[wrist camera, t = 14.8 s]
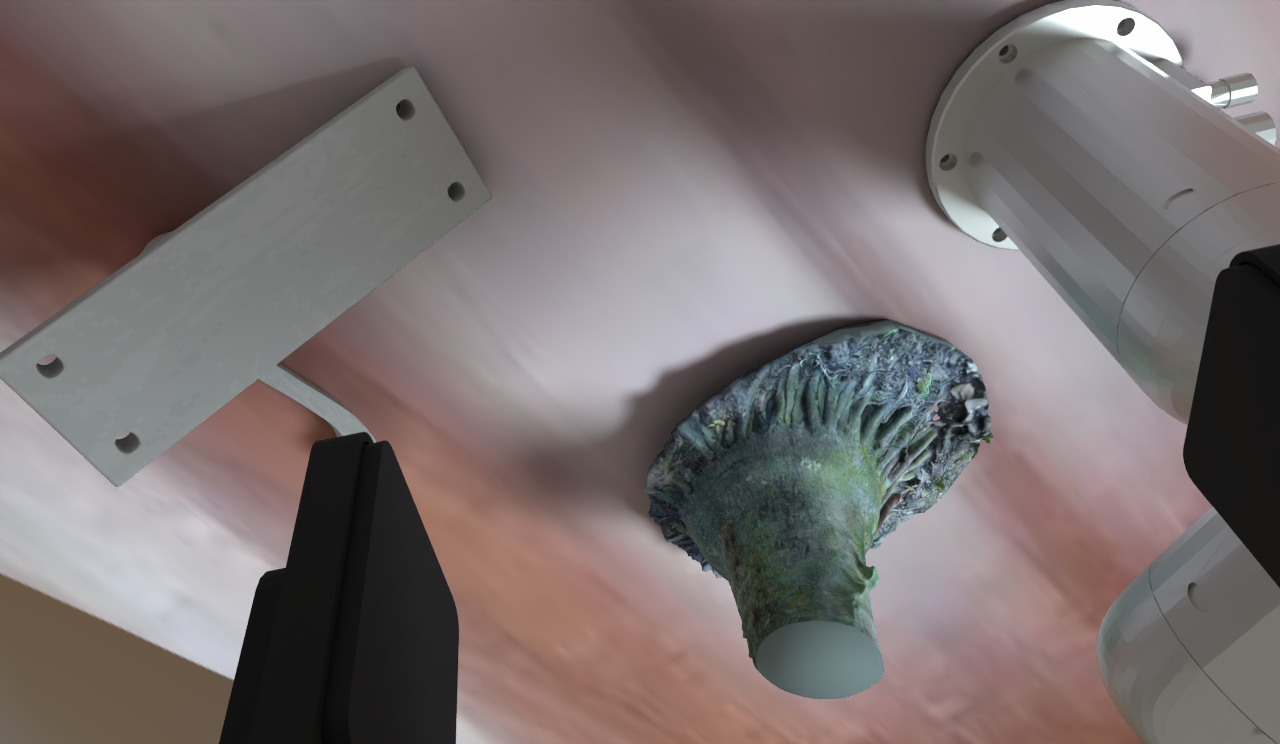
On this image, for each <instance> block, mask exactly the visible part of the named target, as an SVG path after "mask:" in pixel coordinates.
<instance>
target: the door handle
mask: <svg viewBox="0 0 1280 744" xmlns="http://www.w3.org/2000/svg"><path fill="white" fill-rule="evenodd" d="M398 103H399V104H400V110H399V112H398V113H397V112H396V106H397V104H398ZM449 186H450V188H449V190H448V187H449ZM447 190H448V191H447ZM491 197H492V195H491V193H490V192H489V190H488V188H487V187H486V185H485V183H484V182H483V180H482V178H481V177H480V175H479V173H478V172H477V170H476V168H475V167H474V165H473V163H472V162H471V160H470V158H469V157H468V155H467V153H466V152H465V150H464V148H463V147H462V145H461V143H460V142H459V140H458V138H457V137H456V135H455V133H454V132H453V130H452V128H451V127H450V125H449V123H448V122H447V120H446V118H445V116H444V115H443V113H442V111H441V110H440V108H439V106H438V105H437V103H436V101H435V100H434V98H433V96H432V95H431V93H430V91H429V90H428V88H427V86H426V85H425V83H424V81H423V80H422V78H421V76H420V75H419V73H418V71H417V70H416V68H415V67H414V66H408V67H406V68H404V69H402V70H400V71H399V72H397V73H396V74H395V75H393V76H392V77H390V78H389V79H387V80H386V81H385V82H383V83H382V84H380V85H379V86H378V87H376V88H375V89H373V90H372V91H370V92H369V93H368V94H366V95H365V96H363V97H362V98H361V99H359V100H358V101H356V102H355V103H353V104H352V105H351V106H349V107H348V108H346V109H345V110H344V111H342V112H341V113H339V114H338V115H337V116H335V117H334V118H332V119H331V120H329V121H328V122H327V123H325V124H324V125H322V126H321V127H320V128H318V129H317V130H315V131H314V132H312V133H311V134H310V135H308V136H307V137H305V138H304V139H303V140H301V141H300V142H298V143H297V144H295V145H294V146H293V147H291V148H290V149H288V150H287V151H286V152H284V153H283V154H281V155H280V156H278V157H277V158H276V159H274V160H273V161H271V162H270V163H269V164H267V165H266V166H264V167H263V168H261V169H260V170H259V171H257V172H256V173H254V174H253V175H252V176H250V177H249V178H247V179H246V180H244V181H243V182H242V183H240V184H239V185H237V186H236V187H235V188H233V189H232V190H230V191H229V192H228V193H226V194H225V195H223V196H222V197H220V198H219V199H218V200H216V201H215V202H213V203H212V204H211V205H209V206H208V207H206V208H205V209H203V210H202V211H201V212H199V213H198V214H196V215H195V216H194V217H192V218H191V219H189V220H188V221H186V222H185V223H184V224H182V225H181V226H179V227H178V228H177V229H175V230H174V231H172V232H167V233H163V234H161V235H159V236H157V237H155V238H154V239H152V240H151V241H150V242H149V243H148V244H147V245H146V246H145V248H144V249H143V251H142V253H141V254H140V255H138V256H137V257H135V258H134V259H133V260H131V261H130V262H128V263H127V264H126V265H124V266H123V267H121V268H120V269H119V270H117V271H116V272H114V273H113V274H111V275H110V276H109V277H107V278H106V279H104V280H103V281H102V282H100V283H99V284H97V285H96V286H94V287H93V288H92V289H90V290H89V291H87V292H86V293H85V294H83V295H82V296H80V297H79V298H77V299H76V300H75V301H73V302H72V303H70V304H69V305H68V306H66V307H65V308H63V309H62V310H60V311H59V312H58V313H56V314H55V315H53V316H52V317H51V318H49V319H48V320H46V321H45V322H43V323H42V324H41V325H39V326H38V327H36V328H35V329H34V330H32V331H31V332H29V333H28V334H26V335H25V336H24V337H22V338H21V339H19V340H18V341H17V342H15V343H14V344H12V345H11V346H10V347H8V348H7V349H5V350H4V351H2V352H1V353H0V378H1V379H2V380H3V381H4V382H5V383H6V384H7V385H8V386H9V387H10V388H11V389H13V390H14V391H15V392H16V393H17V394H18V395H19V396H20V397H21V398H22V399H23V400H24V401H25V402H26V403H27V404H28V405H30V406H31V407H32V408H33V409H34V410H35V411H36V412H37V413H38V414H39V415H40V416H41V417H42V418H43V419H44V420H45V421H47V422H48V423H49V424H50V425H51V426H52V427H53V428H54V429H55V430H56V431H57V432H58V433H59V434H60V435H61V436H62V437H63V438H65V439H66V440H67V441H68V442H69V443H70V444H71V445H72V446H73V447H74V448H75V449H76V450H77V451H78V452H79V453H80V454H82V455H83V456H84V457H85V458H86V459H87V460H88V461H89V462H90V463H91V464H92V465H93V466H94V467H95V468H96V469H97V470H98V471H100V472H101V473H102V474H103V475H104V476H105V477H106V478H107V479H108V480H109V481H110V482H111V483H112V484H113V485H114V486H116V487H119V486H121V485H122V484H123V483H125V482H126V481H127V480H128V479H130V478H131V477H132V476H134V475H135V474H136V473H137V472H139V471H140V470H141V469H143V468H144V467H145V466H146V465H148V464H149V463H150V462H152V461H153V460H154V459H155V458H157V457H158V456H159V455H161V454H162V453H163V452H165V451H166V450H167V449H168V448H170V447H171V446H172V445H174V444H175V443H176V442H177V441H179V440H180V439H181V438H183V437H184V436H185V435H186V434H188V433H189V432H190V431H192V430H193V429H194V428H195V427H197V426H198V425H199V424H201V423H202V422H203V421H204V420H206V419H207V418H208V417H210V416H211V415H212V414H213V413H215V412H216V411H217V410H219V409H220V408H221V407H222V406H224V405H225V404H226V403H228V402H229V401H230V400H232V399H233V398H234V397H235V396H237V395H238V394H239V393H241V392H242V391H243V390H244V389H246V388H247V387H248V386H250V385H251V384H252V383H253V382H255V381H256V380H257V379H259V380H261V381H262V382H264V383H266V384H268V385H269V386H271V387H273V388H275V389H276V390H278V391H280V392H282V393H283V394H285V395H287V396H288V397H290V398H292V399H293V400H295V401H297V402H298V403H300V404H302V405H303V406H305V407H306V408H308V409H309V410H311V411H312V412H314V413H316V414H317V415H319V416H320V417H322V418H323V419H325V420H326V421H327V422H328V423H329V424H330V425H331V427H332V428H333V429H334V431H335V433H336V435H337V437H340V436H345V435H350V434H355V433H359V432H367V433H368V434H369V435H370V436H371V438H372V440H373V442H374V443H375V442H376V440H375V439H374V437H373V436H372V434H371V433H370V432H369V431H368V429H367V428H366V427H365V426H364V425H363V424H362V423H361V422H360V421H359V420H358V419H357V418H356V417H355V416H354V415H353V414H352V413H351V412H350V411H349V410H348V409H347V408H346V407H345V406H343V405H342V404H341V403H340V402H339V401H337V400H336V399H335V398H333V397H332V396H330V395H329V394H327V393H326V392H324V391H323V390H321V389H320V388H318V387H317V386H315V385H314V384H312V383H310V382H309V381H307V380H305V379H304V378H302V377H301V376H299V375H297V374H296V373H294V372H292V371H291V370H289V369H288V368H286V367H285V366H283V365H281V364H280V363H279V362H280V361H282V360H283V359H284V358H286V357H287V356H288V355H290V354H291V353H292V352H293V351H295V350H296V349H297V348H299V347H300V346H301V345H302V344H304V343H305V342H306V341H308V340H309V339H310V338H311V337H313V336H314V335H315V334H317V333H318V332H319V331H320V330H322V329H323V328H324V327H326V326H327V325H328V324H329V323H331V322H332V321H333V320H335V319H336V318H337V317H338V316H340V315H341V314H342V313H344V312H345V311H346V310H348V309H349V308H350V307H351V306H353V305H354V304H355V303H357V302H358V301H359V300H360V299H362V298H363V297H364V296H366V295H367V294H368V293H369V292H371V291H372V290H373V289H375V288H376V287H377V286H378V285H380V284H381V283H382V282H384V281H385V280H386V279H387V278H389V277H390V276H391V275H393V274H394V273H395V272H396V271H398V270H399V269H400V268H402V267H403V266H404V265H405V264H407V263H408V262H409V261H411V260H412V259H413V258H415V257H416V256H417V255H418V254H420V253H421V252H422V251H424V250H425V249H426V248H427V247H429V246H430V245H431V244H433V243H434V242H435V241H436V240H438V239H439V238H440V237H442V236H443V235H444V234H445V233H447V232H448V231H449V230H451V229H452V228H453V227H454V226H456V225H457V224H458V223H460V222H461V221H462V220H463V219H465V218H466V217H467V216H469V215H470V214H471V213H473V212H474V211H475V210H476V209H478V208H479V207H480V206H482V205H483V204H484V203H485V202H487V201H488V200H489V199H490V198H491ZM47 355H54V356H56V357H57V358H56V359H55V360H54V361H53V362H52V363H50V364H48V365H40V364H38V363H37V362H38V361H39V360H40V359H41V358H43V357H44V356H47ZM125 432H131V433H130V434H129V435H128V436H126V437H125V438H123V439H117V438H118V437H119V436H120V435H122V434H124V433H125Z"/></svg>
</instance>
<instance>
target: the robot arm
mask: <svg viewBox="0 0 1280 744" xmlns="http://www.w3.org/2000/svg"><path fill="white" fill-rule="evenodd" d="M1003 47H1004V48H1003ZM1002 48H1003V50H1002V51H1000V50H1001V49H1002ZM1257 88H1258V85H1257V82H1256V79H1255V78H1254V77H1253V75H1252V74H1250V73H1243V74H1239V75H1235V76H1230V77H1226V78H1222V79H1219V80H1218V81H1215V82H1211V83H1204V82H1203V81H1201V80H1199V79H1198V78H1196V77H1195V76H1193V75H1192V74H1190V73H1188V72H1187V71H1185V68H1184V64H1183V59H1182V56H1181V54H1180V52H1179V50H1178V48H1177V46H1176V44H1175V42H1174V40H1173V38H1172V37H1171V36H1170V35H1169V34H1168V33H1167V32H1166V30H1165V29H1164V28H1163V27H1162V26H1161V25H1160V24H1159V23H1158V22H1157V21H1155V20H1154V19H1152V18H1151V17H1149V16H1148V15H1146V14H1145V13H1143V12H1142V11H1140V10H1138V9H1135V8H1133V7H1131V6H1129V5H1127V4H1125V3H1122V2H1119V1H1114V0H1064V1H1059V2H1055V3H1051V4H1047V5H1044V6H1042V7H1040V8H1037V9H1035V10H1032V11H1030V12H1028V13H1025V14H1023V15H1021V16H1019V17H1018V18H1016V19H1014V20H1013V21H1011V22H1010V23H1008V24H1006V25H1005V26H1003V27H1002V28H1000V29H998V30H997V31H996V32H995V33H993V34H992V35H991V36H990V37H989V38H988V39H986V40H985V41H984V42H983V43H982V44H981V45H979V46H978V47H977V48H976V49H975V50H974V51H973V52H972V53H971V55H970V56H969V57H968V58H967V59H966V60H965V62H964V63H963V64H962V65H961V66H960V67H959V68H958V70H957V71H956V72H955V74H954V76H953V77H952V79H951V80H950V82H949V84H948V85H947V87H946V88H945V90H944V91H943V93H942V95H941V98H940V100H939V102H938V105H937V107H936V109H935V112H934V114H933V116H932V119H931V124H930V128H929V132H928V136H927V141H926V162H925V164H926V170H927V176H928V181H929V186H930V188H931V190H932V193H933V195H934V197H935V200H936V202H937V204H938V205H939V206H940V208H941V209H942V210H943V212H944V213H945V214H946V216H947V217H948V218H949V220H950V221H951V222H952V223H953V224H954V225H955V226H956V227H957V228H958V229H959V230H960V231H961V232H963V233H964V234H966V235H968V236H969V237H971V238H972V239H974V240H976V241H977V242H980V243H983V244H985V245H988V246H991V247H994V248H1000V249H1009V250H1020V251H1021V252H1022V253H1023V254H1024V255H1025V257H1026V258H1027V259H1028V260H1029V261H1030V262H1031V263H1032V265H1033V266H1034V267H1035V268H1036V269H1037V270H1038V271H1039V273H1040V274H1041V275H1042V276H1043V277H1044V278H1045V280H1046V281H1047V282H1048V283H1049V284H1050V285H1051V286H1052V288H1053V289H1054V290H1055V291H1056V292H1057V293H1058V294H1059V296H1060V297H1061V298H1062V299H1063V300H1064V301H1065V302H1066V304H1067V305H1068V306H1069V307H1070V308H1071V309H1072V310H1073V312H1074V313H1075V314H1076V315H1077V316H1078V317H1079V319H1080V320H1081V321H1082V322H1083V323H1084V324H1085V325H1086V327H1087V328H1088V329H1089V330H1090V331H1091V332H1092V333H1093V335H1094V336H1095V337H1096V338H1097V339H1098V340H1099V341H1100V343H1101V344H1102V345H1103V346H1104V347H1105V348H1106V349H1107V351H1108V352H1109V353H1110V354H1111V355H1112V356H1113V357H1114V359H1115V360H1116V361H1117V362H1118V363H1119V364H1120V366H1121V367H1122V368H1123V369H1124V370H1125V371H1126V372H1127V374H1128V375H1129V376H1130V377H1131V378H1132V379H1133V381H1134V382H1135V383H1136V384H1137V385H1138V386H1139V387H1140V389H1141V390H1142V391H1143V392H1144V393H1145V394H1146V395H1147V396H1148V397H1149V398H1150V399H1151V400H1152V401H1153V402H1154V403H1155V404H1156V405H1157V406H1158V407H1159V408H1161V409H1162V410H1163V411H1165V412H1166V413H1168V414H1169V415H1171V416H1172V417H1174V418H1175V419H1177V420H1178V421H1180V422H1182V423H1184V424H1187V425H1188V427H1187V432H1186V438H1185V443H1184V448H1183V458H1184V464H1185V467H1186V470H1187V472H1188V475H1189V477H1190V478H1191V480H1192V481H1193V483H1194V484H1195V485H1196V486H1197V488H1198V489H1199V490H1200V491H1201V493H1202V494H1203V495H1204V496H1205V497H1206V499H1207V500H1208V501H1209V502H1210V504H1211V505H1212V507H1211V508H1210V509H1209V510H1208V511H1207V512H1206V513H1205V514H1204V515H1203V516H1201V517H1200V518H1199V519H1198V520H1197V521H1196V522H1195V523H1194V524H1193V525H1192V526H1191V527H1190V528H1189V529H1187V530H1186V531H1185V532H1184V533H1183V534H1182V535H1181V536H1180V537H1179V538H1178V539H1177V540H1176V541H1175V542H1173V543H1172V544H1171V545H1170V546H1169V547H1168V548H1167V549H1166V550H1165V551H1164V552H1163V553H1162V554H1161V555H1159V556H1158V557H1157V558H1156V559H1155V560H1154V561H1153V562H1152V563H1151V564H1150V565H1149V566H1147V567H1146V568H1145V569H1144V570H1143V571H1142V572H1141V573H1140V574H1139V575H1138V576H1137V577H1136V578H1135V579H1134V580H1133V581H1132V582H1131V583H1130V584H1129V585H1128V586H1127V587H1126V588H1125V589H1124V590H1123V592H1122V593H1121V594H1120V595H1119V596H1118V597H1117V598H1116V600H1115V601H1114V602H1113V604H1112V605H1111V607H1110V608H1109V610H1108V611H1107V613H1106V615H1105V617H1104V618H1103V620H1102V623H1101V626H1100V629H1099V632H1098V637H1097V647H1096V651H1097V660H1098V666H1099V670H1100V674H1101V676H1102V679H1103V682H1104V685H1105V687H1106V689H1107V691H1108V693H1109V695H1110V697H1111V699H1112V701H1113V703H1114V704H1115V706H1116V708H1117V709H1118V711H1119V712H1120V714H1121V715H1122V717H1123V718H1124V720H1125V721H1126V723H1127V724H1128V726H1129V727H1130V728H1131V729H1132V731H1133V732H1134V733H1135V734H1136V736H1137V737H1138V738H1139V739H1140V741H1141V742H1142V743H1143V744H1280V149H1278V148H1277V147H1275V146H1274V143H1275V140H1276V127H1275V124H1274V122H1273V119H1272V118H1271V117H1270V116H1269V115H1268V114H1267V113H1265V112H1256V113H1252V114H1248V115H1244V116H1239V117H1235V118H1232V117H1230V116H1229V115H1227V114H1226V113H1224V112H1223V111H1221V110H1220V109H1219V108H1224V109H1225V108H1230V107H1234V106H1238V105H1243V104H1247V103H1251V102H1252V101H1254V100H1255V98H1256V96H1257ZM943 156H944V157H943ZM458 645H459V624H458V616H457V610H456V606H455V602H454V599H453V596H452V594H451V592H450V589H449V587H448V584H447V582H446V579H445V577H444V574H443V572H442V569H441V567H440V564H439V562H438V560H437V557H436V555H435V552H434V550H433V547H432V545H431V542H430V540H429V537H428V535H427V532H426V530H425V528H424V525H423V523H422V520H421V518H420V515H419V513H418V510H417V508H416V505H415V503H414V500H413V498H412V496H411V493H410V491H409V488H408V486H407V483H406V481H405V478H404V476H403V473H402V471H401V468H400V466H399V463H398V461H397V459H396V456H395V454H394V451H393V449H392V447H391V445H390V444H389V442H388V441H380V442H375V443H374V442H373V440H372V438H371V436H370V435H369V434H368V433H367V432H359V433H355V434H350V435H345V436H340V437H335V438H330V439H325V440H320V441H316V442H315V443H314V444H313V446H312V449H311V453H310V457H309V462H308V467H307V471H306V476H305V481H304V485H303V490H302V495H301V499H300V504H299V509H298V513H297V518H296V523H295V527H294V532H293V537H292V541H291V546H290V551H289V555H288V560H287V565H286V568H282V569H278V570H273V571H268V572H266V573H265V574H264V575H263V576H262V577H261V578H260V580H259V583H258V586H257V588H256V592H255V596H254V600H253V604H252V608H251V612H250V617H249V621H248V625H247V629H246V633H245V637H244V642H243V646H242V650H241V654H240V658H239V662H238V667H237V671H236V675H235V679H234V683H233V687H232V692H231V696H230V700H229V704H228V708H227V713H226V717H225V721H224V725H223V729H222V733H221V737H220V742H219V744H456V714H457V679H458Z"/></svg>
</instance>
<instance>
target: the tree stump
mask: <svg viewBox="0 0 1280 744" xmlns="http://www.w3.org/2000/svg"><path fill="white" fill-rule="evenodd" d="M980 374H981V372H980V371H979V369H978V368H977V366H976V365H975V363H974V362H973V361H972V359H970V358H969V357H968V356H966V355H965V354H964V353H962V352H961V351H960V350H959V349H957V348H956V347H955V346H953V345H952V344H951V343H949V342H948V341H947V340H945V339H942V338H939V337H937V336H934V335H931V334H928V333H925V332H922V331H920V330H917V329H914V328H911V327H908V326H905V325H903V324H900V323H897V322H894V321H891V320H883V321H877V322H871V323H864V324H858V325H852V326H846V327H840V328H838V329H836V330H834V331H832V332H830V333H828V334H826V335H824V336H822V337H820V338H818V339H816V340H813V341H811V342H809V343H807V344H805V345H803V346H801V347H798V348H796V349H794V350H792V351H790V352H788V353H786V354H784V355H782V356H780V357H778V358H777V359H774V360H772V361H770V362H768V363H765V364H763V365H761V366H759V367H757V368H755V369H753V370H751V371H749V372H748V373H746V374H744V375H742V376H740V377H739V378H737V379H736V380H735V381H734V382H732V383H731V384H730V385H729V386H728V387H727V388H725V389H724V390H723V391H722V392H721V393H720V394H717V395H714V396H711V397H709V398H707V399H706V400H704V401H703V402H702V403H701V404H700V405H698V407H697V408H696V409H695V410H694V411H693V412H692V413H691V414H690V415H689V416H688V417H687V418H686V419H684V420H683V421H682V422H681V423H679V424H678V425H677V427H676V428H675V429H674V430H673V431H672V432H671V434H672V438H671V439H670V440H669V441H668V442H667V443H666V444H665V446H664V450H663V451H662V452H661V453H660V454H659V455H658V457H657V458H656V459H655V461H654V463H653V464H652V465H651V467H650V469H649V470H648V475H647V480H646V485H645V491H644V492H645V493H646V494H648V495H649V496H650V500H651V505H650V507H651V508H650V511H648V513H649V516H650V517H653V518H654V519H655V522H656V523H657V524H658V525H660V526H661V529H662V532H663V534H664V537H665V539H666V540H667V541H668V542H672V543H673V544H676V545H678V546H679V547H681V548H683V550H685V551H686V552H687V553H688V556H691V557H692V559H693V560H696V561H698V562H700V563H701V566H702V570H703V571H705V572H706V571H708V570H710V569H712V571H713V573H714V574H715V576H716V578H719V577H723V578H725V579H726V580H728V581H729V584H730V586H731V589H732V592H733V595H734V598H735V601H736V604H737V607H738V612H739V614H740V617H741V620H742V630H743V638H747V642H748V647H749V657H750V658H752V659H753V663H754V665H755V668H756V669H757V670H758V671H759V672H760V673H761V674H762V675H763V676H764V677H765V678H766V679H767V680H769V681H770V682H771V683H772V684H774V685H776V686H777V687H779V688H780V689H782V690H784V691H786V692H790V693H792V694H796V695H799V696H803V697H808V698H814V699H836V698H845V697H849V696H852V695H855V694H857V693H860V692H862V691H864V690H866V689H867V688H869V687H870V686H872V685H873V684H875V683H876V682H877V681H878V680H879V679H880V678H881V675H882V674H883V672H884V666H883V660H882V656H881V652H880V648H879V645H878V642H877V639H876V629H875V624H874V621H873V617H872V610H871V603H870V595H869V592H870V590H872V589H873V588H874V587H875V586H876V584H877V581H878V580H879V577H878V573H877V571H876V568H875V567H874V566H872V567H867V566H866V561H865V553H866V552H867V551H868V550H870V549H875V548H877V547H879V546H880V545H881V544H882V540H883V538H884V537H885V536H886V535H887V534H889V533H891V532H892V531H895V530H896V528H897V526H898V525H899V524H900V523H902V522H904V521H906V520H910V519H912V518H913V516H914V515H915V514H917V513H925V512H926V510H928V509H930V508H931V507H932V506H933V505H934V504H935V503H937V501H938V500H939V499H941V498H942V497H943V496H944V495H945V493H946V492H947V491H948V489H949V488H950V486H951V485H952V484H953V483H954V481H955V480H956V478H957V477H958V476H959V475H960V473H961V472H962V471H963V470H964V469H965V467H966V466H967V465H968V463H969V462H970V461H971V460H972V459H973V458H974V457H976V456H977V452H978V448H979V445H980V440H981V439H983V440H985V441H986V443H987V444H989V443H990V441H991V440H993V435H992V433H991V427H992V425H991V418H990V416H988V413H987V410H988V406H989V402H988V397H987V392H986V389H985V386H984V384H983V381H982V377H981V375H982V374H981V375H980ZM936 404H937V406H938V409H939V410H938V412H935V411H934V412H933V413H931V412H929V410H930V409H931V408H932V407H933V406H934V405H936ZM935 414H938V416H940V419H939V420H937V421H933V416H934V415H935Z"/></svg>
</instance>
